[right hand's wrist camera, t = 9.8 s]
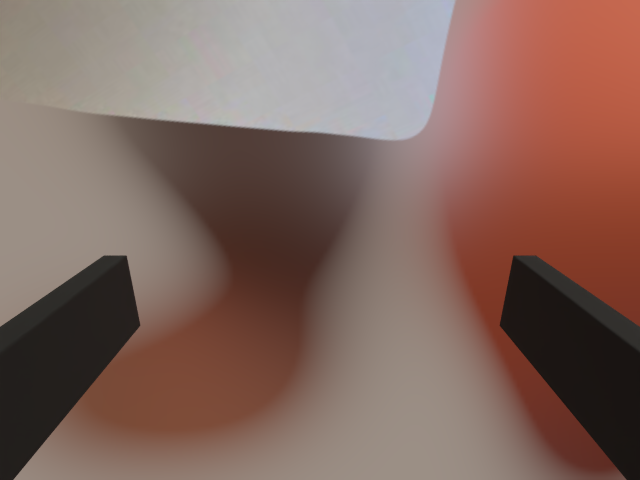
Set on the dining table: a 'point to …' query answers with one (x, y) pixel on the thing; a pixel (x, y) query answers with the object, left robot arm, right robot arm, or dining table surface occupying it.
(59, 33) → the dining table surface
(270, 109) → the dining table surface
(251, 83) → the dining table surface
